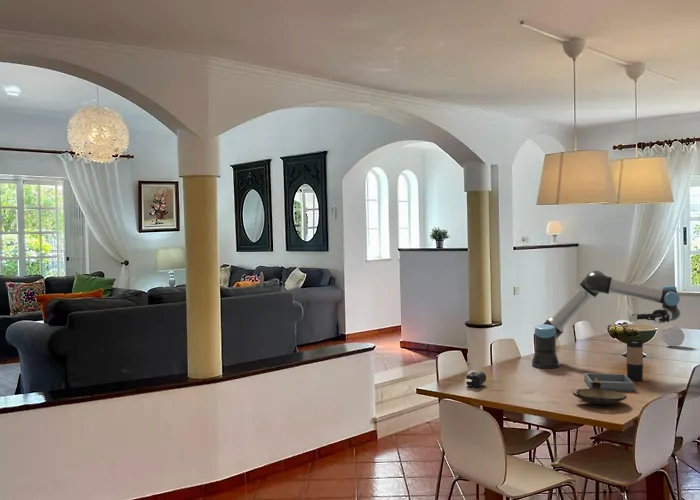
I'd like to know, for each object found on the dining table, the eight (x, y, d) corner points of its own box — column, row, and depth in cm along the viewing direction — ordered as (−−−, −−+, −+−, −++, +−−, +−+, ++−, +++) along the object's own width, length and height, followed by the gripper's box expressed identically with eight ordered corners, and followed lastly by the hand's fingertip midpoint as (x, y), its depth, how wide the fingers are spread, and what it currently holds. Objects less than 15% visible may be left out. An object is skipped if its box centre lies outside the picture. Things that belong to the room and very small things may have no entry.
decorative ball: (656, 346, 430) (656, 324, 430) (664, 344, 439) (664, 322, 439) (680, 349, 419) (680, 326, 419) (687, 346, 428) (687, 324, 428)
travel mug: (636, 382, 329) (636, 343, 328) (623, 379, 335) (623, 341, 335) (646, 380, 332) (646, 342, 332) (633, 377, 339) (633, 340, 339)
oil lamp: (566, 406, 286) (565, 388, 285) (586, 392, 310) (586, 376, 309) (618, 413, 272) (618, 395, 272) (635, 398, 296) (635, 382, 296)
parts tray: (590, 389, 314) (590, 381, 314) (584, 380, 333) (584, 373, 333) (634, 391, 310) (634, 383, 310) (625, 382, 329) (625, 374, 329)
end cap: (479, 389, 319) (479, 375, 318) (466, 387, 322) (465, 374, 322) (486, 385, 327) (486, 372, 327) (473, 383, 331) (473, 370, 331)
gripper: (685, 324, 343) (666, 328, 330) (639, 320, 362) (620, 324, 349) (684, 310, 343) (666, 314, 330) (639, 307, 362) (620, 310, 349)
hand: (642, 319), depth 339 cm, fingers open, 13 cm apart
